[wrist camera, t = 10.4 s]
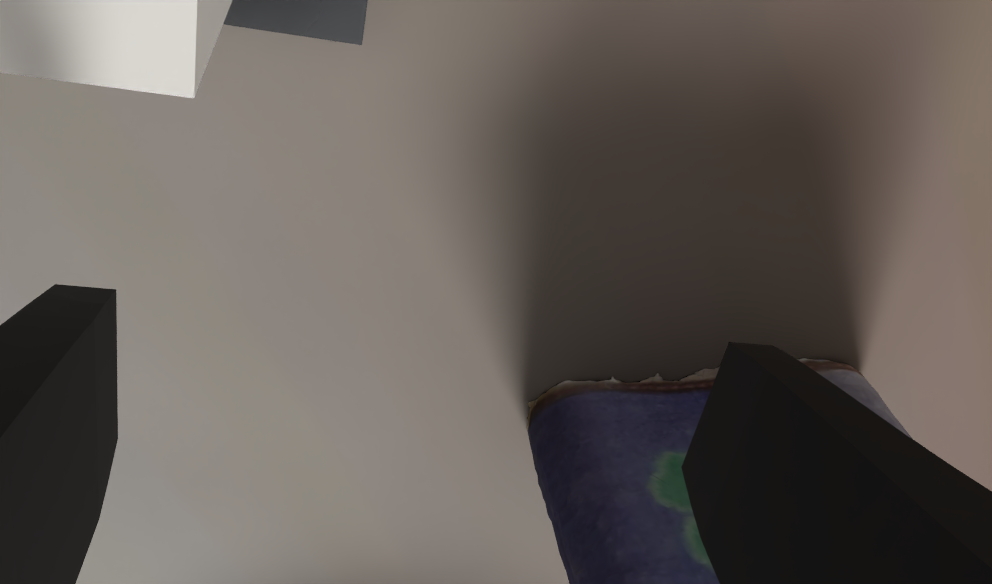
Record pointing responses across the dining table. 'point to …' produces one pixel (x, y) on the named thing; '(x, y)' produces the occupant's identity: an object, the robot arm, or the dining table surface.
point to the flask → (635, 472)
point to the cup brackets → (302, 17)
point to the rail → (112, 42)
